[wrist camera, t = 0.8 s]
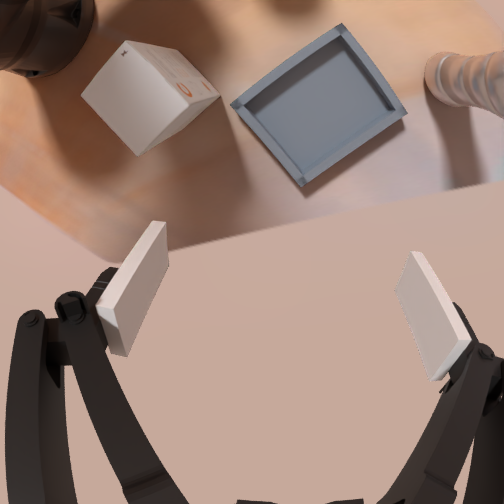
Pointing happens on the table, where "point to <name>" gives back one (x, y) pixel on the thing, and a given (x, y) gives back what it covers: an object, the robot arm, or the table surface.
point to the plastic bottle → (468, 80)
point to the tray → (320, 105)
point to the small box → (148, 94)
